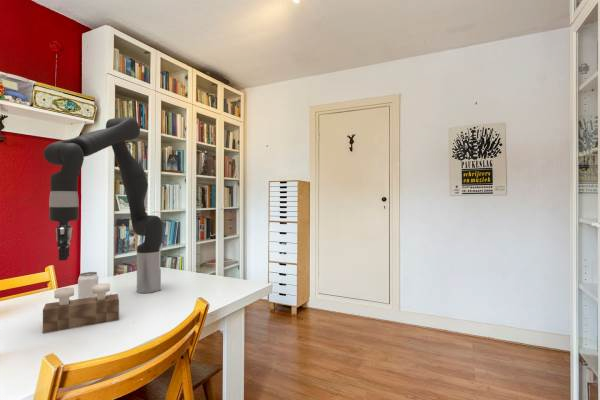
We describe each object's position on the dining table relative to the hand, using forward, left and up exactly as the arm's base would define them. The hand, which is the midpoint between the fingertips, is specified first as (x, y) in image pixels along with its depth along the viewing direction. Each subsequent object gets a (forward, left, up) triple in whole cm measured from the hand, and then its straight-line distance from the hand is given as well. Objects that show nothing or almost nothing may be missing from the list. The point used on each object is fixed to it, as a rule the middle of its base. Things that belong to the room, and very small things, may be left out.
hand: (64, 258), depth 102 cm
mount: (-5, 0, -21) cm, 22 cm away
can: (-6, -20, -22) cm, 30 cm away
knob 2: (-10, 0, -17) cm, 20 cm away
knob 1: (0, 0, -17) cm, 17 cm away
